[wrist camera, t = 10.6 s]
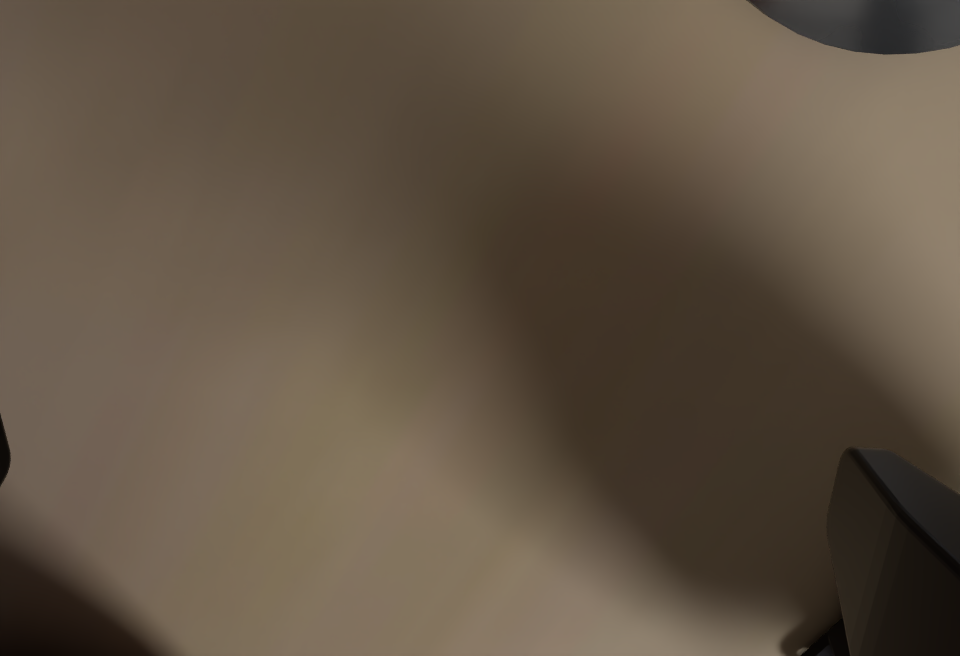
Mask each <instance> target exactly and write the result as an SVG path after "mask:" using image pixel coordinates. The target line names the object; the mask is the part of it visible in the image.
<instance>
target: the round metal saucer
mask: <svg viewBox="0 0 960 656" xmlns="http://www.w3.org/2000/svg"><path fill="white" fill-rule="evenodd" d="M747 1H748V2H749V3H751V4H752V5H753V6H754V7H756V8H757V9H758V10H760V11H761V12H762V13H763V14H765V15H767V16H768V17H770V18H771V19H773V20H775V21H777V22H778V23H780V24H782V25H784V26H785V27H787V28H789V29H790V30H792V31H794V32H796V33H797V34H800V35H802V36H805V37H807V38H810V39H812V40H815V41H817V42H820V43H823V44H825V45H829V46H833V47H838V48H842V49H846V50H850V51H854V52H865V53H875V54H911V53H921V52H928V51H934V50H940V49H946V48H951V47H954V46H958V45H960V0H747Z"/></svg>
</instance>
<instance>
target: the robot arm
mask: <svg viewBox="0 0 960 656" xmlns="http://www.w3.org/2000/svg"><path fill="white" fill-rule="evenodd" d="M10 461H11V458H10V449H9V445H8V441H7V437H6V433H5V430H4V426H3V422H2V418H1V415H0V486H1V485H2V483H3V481H4V479H5V478H6V475H7V473H8V470H9V467H10ZM827 537H828V543H829V548H830V553H831V558H832V563H833V569H834V574H835V579H836V584H837V589H838V594H839V599H840V605H841V610H842V615H843V618H842V619H841V620H840V621H839V622H838V623H837V624H836V625H834V626H833V627H832V628H831V629H830V630H829V631H828V632H827V633H825V634H824V635H823V636H822V637H821V638H820V639H819V640H818V641H817V642H815V643H814V644H813V645H812V646H811V647H810V648H809V649H808V650H807V651H805V652H804V653H803V654H802V655H801V656H960V494H958V493H956V492H955V491H953V490H952V489H950V488H949V487H947V486H946V485H944V484H942V483H941V482H939V481H938V480H936V479H935V478H933V477H931V476H930V475H928V474H927V473H925V472H924V471H922V470H921V469H919V468H917V467H916V466H914V465H913V464H911V463H910V462H908V461H907V460H905V459H903V458H902V457H900V456H899V455H897V454H896V453H894V452H892V451H891V450H887V449H881V448H865V447H849V448H848V449H846V450H845V451H844V452H843V454H842V456H841V458H840V462H839V466H838V470H837V475H836V479H835V483H834V488H833V492H832V496H831V501H830V505H829V510H828V515H827Z"/></svg>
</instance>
